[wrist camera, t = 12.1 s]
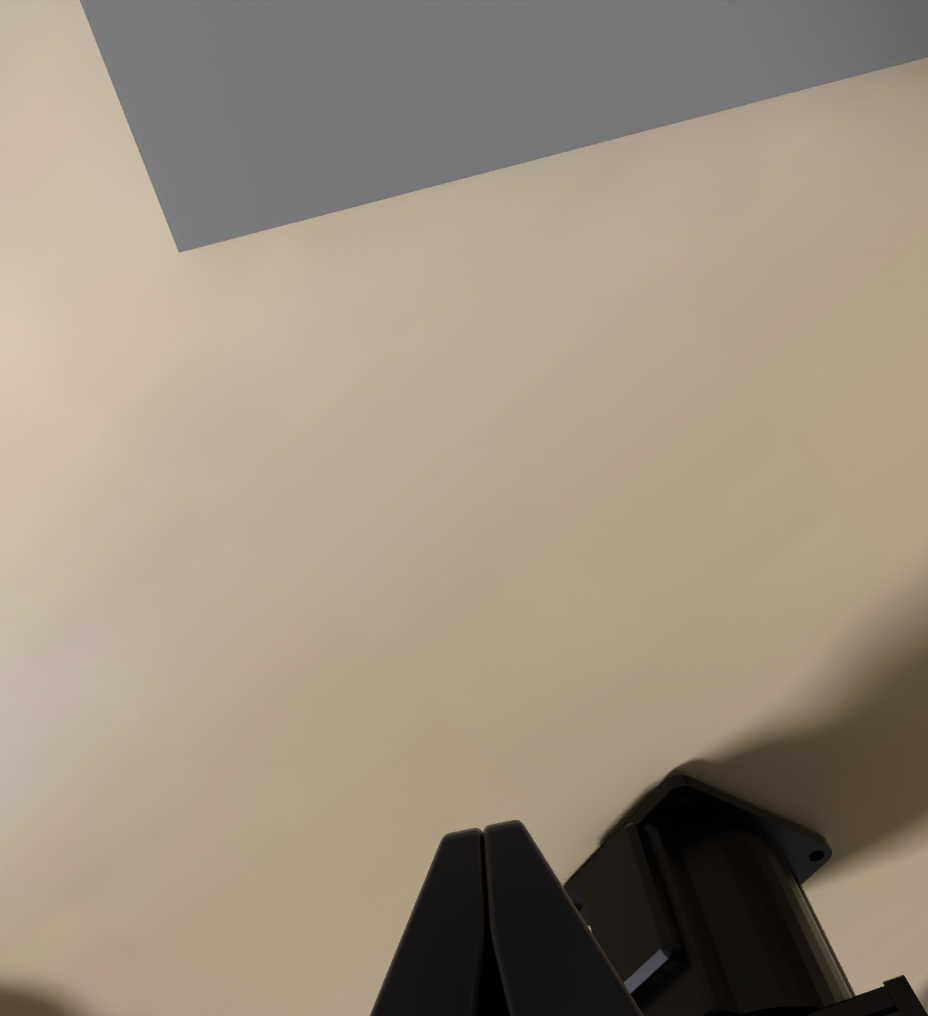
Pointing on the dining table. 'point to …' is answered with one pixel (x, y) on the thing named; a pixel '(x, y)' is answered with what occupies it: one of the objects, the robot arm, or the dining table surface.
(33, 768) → the dining table surface
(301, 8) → the label board
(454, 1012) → the robot arm
